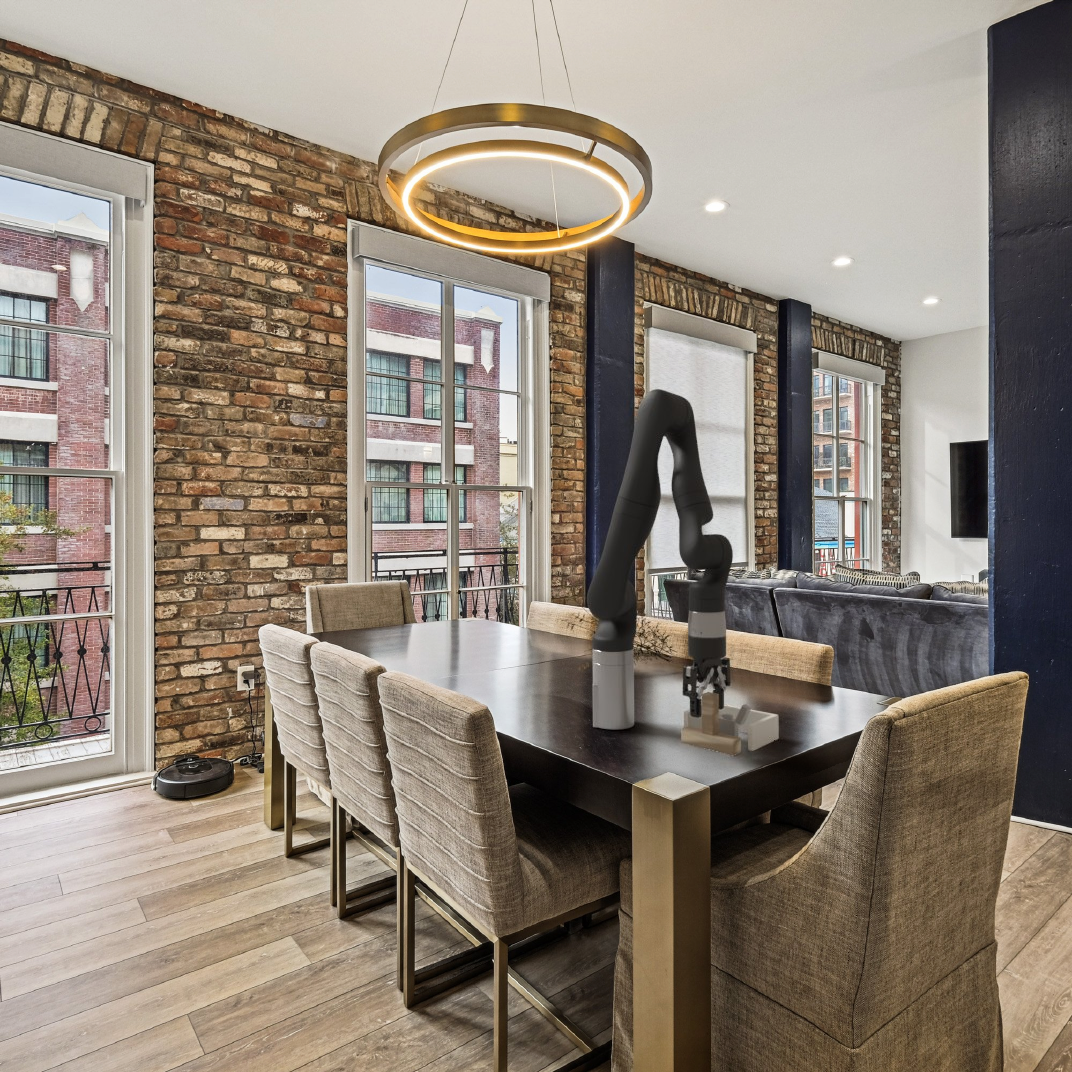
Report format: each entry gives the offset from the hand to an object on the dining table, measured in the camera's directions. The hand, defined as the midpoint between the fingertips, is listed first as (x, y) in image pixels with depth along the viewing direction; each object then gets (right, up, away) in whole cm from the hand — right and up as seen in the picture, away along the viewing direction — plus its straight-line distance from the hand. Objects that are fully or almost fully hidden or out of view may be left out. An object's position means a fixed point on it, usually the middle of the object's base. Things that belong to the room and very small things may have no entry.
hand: (707, 712), depth 148 cm
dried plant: (-12, -6, +64) cm, 65 cm away
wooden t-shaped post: (+1, -7, 0) cm, 7 cm away
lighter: (+6, -7, +4) cm, 10 cm away
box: (+6, -7, +6) cm, 11 cm away
